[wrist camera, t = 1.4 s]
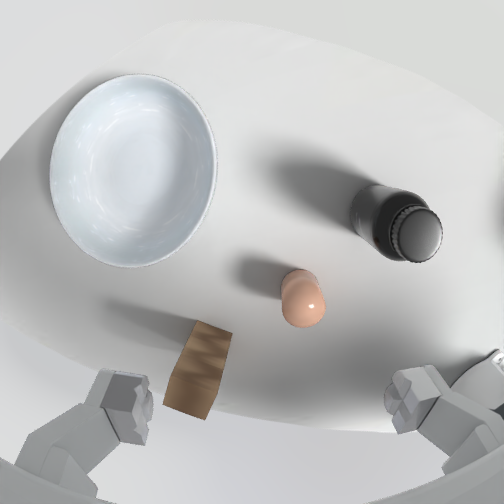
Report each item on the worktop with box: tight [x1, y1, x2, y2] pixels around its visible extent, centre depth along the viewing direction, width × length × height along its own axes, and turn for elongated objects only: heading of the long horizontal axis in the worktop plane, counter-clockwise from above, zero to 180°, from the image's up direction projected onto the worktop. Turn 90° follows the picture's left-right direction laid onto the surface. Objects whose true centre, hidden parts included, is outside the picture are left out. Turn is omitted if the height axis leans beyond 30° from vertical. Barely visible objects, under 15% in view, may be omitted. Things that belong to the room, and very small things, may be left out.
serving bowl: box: [49, 74, 218, 268], centre depth 30 cm, size 21×21×7 cm
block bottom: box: [190, 320, 232, 349], centre depth 37 cm, size 5×5×4 cm
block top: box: [163, 354, 223, 420], centre depth 30 cm, size 5×5×4 cm
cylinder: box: [281, 270, 326, 328], centre depth 33 cm, size 5×5×6 cm
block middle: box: [181, 336, 228, 370], centre depth 33 cm, size 5×5×4 cm
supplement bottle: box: [350, 185, 443, 263], centre depth 27 cm, size 7×7×12 cm
